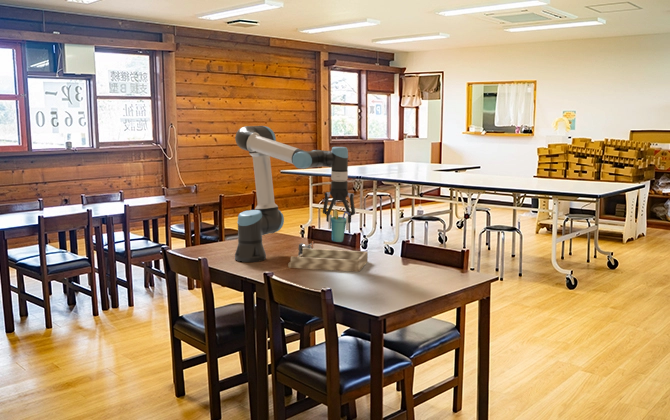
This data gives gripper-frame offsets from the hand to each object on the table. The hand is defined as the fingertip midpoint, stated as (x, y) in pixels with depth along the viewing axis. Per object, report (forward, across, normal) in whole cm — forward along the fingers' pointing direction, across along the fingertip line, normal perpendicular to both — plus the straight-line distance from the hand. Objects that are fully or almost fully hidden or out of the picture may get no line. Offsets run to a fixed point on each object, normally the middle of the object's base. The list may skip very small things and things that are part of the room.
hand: (338, 229), depth 292 cm
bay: (+17, -4, 0) cm, 18 cm away
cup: (+6, 0, 0) cm, 6 cm away
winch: (+17, -20, +16) cm, 31 cm away
